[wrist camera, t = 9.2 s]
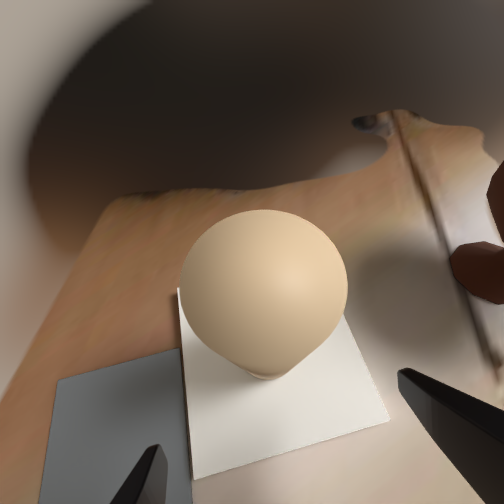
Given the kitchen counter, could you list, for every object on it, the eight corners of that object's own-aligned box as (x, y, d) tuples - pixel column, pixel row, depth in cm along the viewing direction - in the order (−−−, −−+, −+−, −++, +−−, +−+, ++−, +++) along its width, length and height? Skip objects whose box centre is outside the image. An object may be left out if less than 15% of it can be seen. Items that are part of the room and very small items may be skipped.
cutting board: (383, 418, 15) (390, 420, 14) (198, 474, 14) (193, 480, 13) (314, 258, 21) (315, 252, 20) (181, 292, 20) (177, 288, 19)
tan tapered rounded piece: (307, 369, 16) (381, 336, 5) (244, 387, 15) (188, 390, 5) (287, 307, 18) (310, 196, 7) (230, 322, 18) (173, 228, 7)
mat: (193, 511, 13) (192, 513, 13) (32, 561, 13) (29, 564, 13) (180, 348, 18) (179, 347, 18) (60, 380, 17) (57, 380, 17)
